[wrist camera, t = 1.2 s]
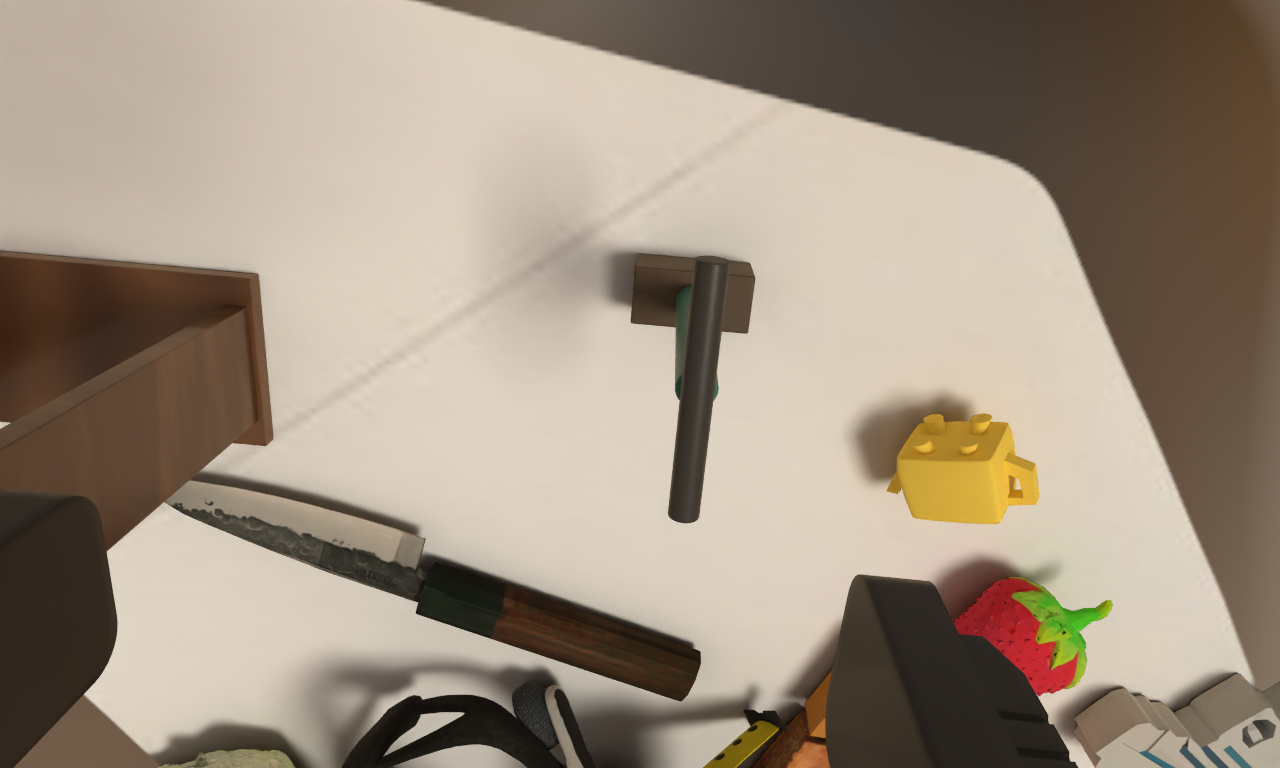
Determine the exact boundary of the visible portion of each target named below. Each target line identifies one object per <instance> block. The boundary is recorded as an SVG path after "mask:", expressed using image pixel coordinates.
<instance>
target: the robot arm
mask: <svg viewBox="0 0 1280 768" xmlns="http://www.w3.org/2000/svg"><path fill="white" fill-rule="evenodd" d="M116 636H117V614H116V608H115V602H114V595H113V589H112V583H111V577H110V571H109V565H108V558H107V552H106V546H105V540H104V534H103V528H102V521H101V517H100V513H99V511H98V509H97V507H96V505H95V504H94V503H93V502H92V501H91V500H90V499H88V498H86V497H84V496H77V495H67V494H57V493H47V492H37V491H26V490H16V489H6V490H2V491H0V768H14V766H15V765H16V764H17V763H18V762H19V761H20V760H21V759H22V758H23V757H24V756H25V755H26V754H27V753H28V752H29V751H30V750H31V749H32V747H34V745H35V744H36V743H37V742H38V741H39V740H40V739H41V738H42V737H43V736H44V735H45V734H46V733H47V732H48V731H49V730H50V729H51V728H52V727H53V726H54V725H55V724H56V723H57V721H58V720H59V719H60V718H61V717H62V716H63V715H64V714H65V713H66V712H67V711H68V710H69V709H70V708H71V707H72V706H73V705H74V704H75V703H76V702H77V701H78V700H79V699H80V697H81V696H82V695H83V694H84V693H85V692H86V691H87V690H88V689H89V688H90V687H91V686H92V685H93V684H94V683H95V682H96V680H97V679H98V678H99V677H100V675H101V674H102V672H103V671H104V669H105V667H106V665H107V664H108V661H109V659H110V657H111V655H112V652H113V649H114V645H115V641H116ZM825 733H826V747H827V755H828V760H829V765H830V768H1078V766H1077V765H1076V763H1075V762H1070V759H1069V751H1068V749H1067V747H1066V745H1065V744H1064V742H1063V740H1062V739H1061V737H1060V735H1059V733H1058V732H1057V730H1056V728H1055V726H1054V725H1053V724H1049V722H1048V714H1047V712H1046V711H1045V709H1044V707H1043V705H1042V704H1041V702H1040V700H1039V698H1038V697H1037V695H1036V693H1035V691H1034V690H1033V688H1032V686H1031V684H1030V683H1029V681H1028V679H1027V677H1026V676H1025V674H1024V673H1023V672H1022V671H1021V670H1020V669H1019V668H1018V667H1017V666H1015V665H1014V664H1013V663H1012V662H1011V661H1010V660H1009V659H1008V658H1007V657H1006V656H1004V655H1003V654H1002V653H1001V652H1000V651H999V650H998V649H997V648H996V647H995V646H993V645H992V644H991V643H990V642H989V641H988V640H987V639H986V638H985V637H983V636H974V635H964V634H959V633H958V631H957V629H956V627H955V625H954V623H953V621H952V619H951V617H950V615H949V613H948V611H947V609H946V607H945V605H944V603H943V601H942V599H941V597H940V595H939V593H938V591H937V589H936V587H935V586H934V585H933V584H932V583H931V582H929V581H921V580H911V579H901V578H891V577H881V576H870V575H857V576H855V578H854V579H853V581H852V583H851V586H850V589H849V593H848V597H847V602H846V607H845V611H844V616H843V621H842V626H841V631H840V636H839V641H838V645H837V650H836V655H835V660H834V665H833V670H832V675H831V679H830V684H829V689H828V695H827V702H826V717H825Z"/></svg>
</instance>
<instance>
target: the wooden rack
mask: <svg viewBox="0 0 1280 768" xmlns="http://www.w3.org/2000/svg"><path fill="white" fill-rule="evenodd" d="M0 422H10V424H9V425H7V426H5V427H3V428H1V429H0V491H2V490H6V489H16V490H26V491H37V492H47V493H57V494H67V495H77V496H84V497H86V498H88V499H90V500H91V501H92V502H93V503H94V504H95V505H96V507H97V509H98V511H99V513H100V517H101V521H102V528H103V534H104V540H105V546H106V552H107V551H108V550H109V549H110V548H111V547H112V546H114V545H115V544H116V543H117V542H118V541H119V540H121V539H122V538H123V537H124V536H125V535H126V534H128V533H129V532H130V531H131V530H132V529H133V528H134V527H136V526H137V525H138V524H139V523H140V522H141V521H143V520H144V519H145V518H146V517H147V516H148V515H150V514H151V513H152V512H153V511H154V510H155V509H156V508H158V507H159V506H160V505H161V504H162V503H163V502H165V501H166V500H167V499H168V498H169V497H170V496H172V495H173V494H174V493H175V492H176V491H177V490H178V489H180V488H181V487H182V486H183V485H184V484H185V483H187V482H188V481H189V480H190V479H191V478H192V477H194V476H195V475H196V474H197V473H198V472H199V471H200V470H202V469H203V468H204V467H205V466H206V465H207V464H209V463H210V462H211V461H212V460H213V459H214V458H215V457H217V456H218V455H219V454H220V453H221V452H222V451H224V450H225V449H226V448H227V447H228V446H229V445H231V444H232V443H238V444H249V445H260V446H267V445H268V444H269V443H270V442H271V441H272V440H273V428H272V417H271V406H270V395H269V384H268V373H267V362H266V351H265V340H264V329H263V318H262V307H261V296H260V285H259V275H258V274H250V273H239V272H228V271H217V270H206V269H194V268H183V267H172V266H161V265H150V264H139V263H127V262H116V261H105V260H94V259H83V258H71V257H60V256H49V255H38V254H27V253H16V252H4V251H0Z"/></svg>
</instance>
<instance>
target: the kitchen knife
mask: <svg viewBox="0 0 1280 768" xmlns="http://www.w3.org/2000/svg"><path fill="white" fill-rule="evenodd" d="M165 503H167V504H168V505H170V506H171V507H173V508H175V509H176V510H178V511H180V512H181V513H183V514H185V515H187V516H190V517H192V518H194V519H196V520H199V521H201V522H203V523H206V524H208V525H210V526H213V527H215V528H218V529H220V530H222V531H225V532H227V533H230V534H232V535H234V536H237V537H239V538H242V539H244V540H247V541H249V542H252V543H254V544H256V545H259V546H261V547H264V548H266V549H269V550H271V551H274V552H277V553H279V554H282V555H284V556H287V557H290V558H292V559H295V560H298V561H300V562H303V563H305V564H308V565H311V566H313V567H316V568H318V569H321V570H324V571H326V572H329V573H332V574H334V575H337V576H340V577H343V578H346V579H349V580H352V581H355V582H358V583H361V584H364V585H367V586H370V587H373V588H376V589H379V590H382V591H385V592H388V593H391V594H394V595H397V596H400V597H403V598H406V599H409V600H412V601H415V602H418V605H417V610H416V614H418V615H421V616H424V617H427V618H430V619H433V620H436V621H439V622H442V623H445V624H448V625H451V626H454V627H457V628H460V629H463V630H466V631H469V632H472V633H475V634H478V635H481V636H484V637H487V638H490V639H493V640H496V641H499V642H502V643H505V644H508V645H511V646H514V647H517V648H520V649H524V650H527V651H530V652H533V653H536V654H539V655H542V656H545V657H548V658H551V659H554V660H557V661H560V662H563V663H566V664H569V665H572V666H575V667H578V668H581V669H584V670H587V671H590V672H593V673H596V674H599V675H602V676H605V677H608V678H611V679H614V680H617V681H620V682H623V683H626V684H629V685H632V686H635V687H638V688H641V689H644V690H647V691H650V692H653V693H656V694H659V695H662V696H665V697H668V698H671V699H674V700H677V701H682V700H683V699H684V698H685V697H686V696H687V695H688V694H689V692H690V690H691V688H692V686H693V684H694V682H695V679H696V676H697V673H698V670H699V667H700V664H701V653H700V651H698V650H696V649H693V648H690V647H687V646H684V645H681V644H678V643H675V642H672V641H669V640H666V639H663V638H660V637H657V636H654V635H651V634H648V633H645V632H642V631H639V630H636V629H634V628H631V627H628V626H625V625H622V624H619V623H616V622H613V621H610V620H607V619H604V618H601V617H598V616H595V615H592V614H589V613H586V612H583V611H580V610H577V609H574V608H572V607H569V606H566V605H563V604H560V603H557V602H554V601H551V600H548V599H545V598H542V597H539V596H536V595H533V594H530V593H527V592H524V591H521V590H518V589H515V588H512V587H510V586H507V585H504V584H501V583H498V582H495V581H492V580H489V579H486V578H483V577H480V576H477V575H474V574H471V573H468V572H465V571H462V570H459V569H456V568H453V567H450V566H447V565H445V564H442V563H439V562H434V563H433V565H432V568H431V570H430V572H429V573H427V572H425V571H423V570H422V569H421V568H420V567H419V562H420V558H421V554H422V550H423V546H424V543H425V539H424V538H422V537H419V536H416V535H413V534H410V533H407V532H404V531H401V530H398V529H395V528H392V527H389V526H386V525H382V524H379V523H376V522H372V521H369V520H366V519H362V518H359V517H356V516H352V515H349V514H346V513H342V512H339V511H336V510H332V509H328V508H324V507H321V506H317V505H313V504H309V503H305V502H301V501H297V500H292V499H288V498H284V497H279V496H274V495H269V494H265V493H260V492H255V491H250V490H245V489H240V488H235V487H229V486H223V485H217V484H211V483H204V482H198V481H191V480H189V481H188V482H187V483H185V484H184V485H183V486H182V487H181V488H180V489H178V490H177V491H176V492H175V493H174V494H173V495H172V496H170V497H169V498H168V499H167V500H166V501H165Z"/></svg>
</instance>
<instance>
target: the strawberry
mask: <svg viewBox="0 0 1280 768" xmlns="http://www.w3.org/2000/svg"><path fill="white" fill-rule="evenodd" d="M1112 606H1113V604H1112V601H1111V600H1106V601H1104V602H1103V603H1101V604H1100V605H1099V606H1097V607H1096V608H1083V609H1080V610H1076V611H1071V610H1068V609H1065V608H1062V606H1061V605H1060V604H1059V603H1058V601H1057V600H1056V599H1055V597H1054V596H1053V595H1052V594H1051V593H1050V592H1048V591H1047V590H1046V589H1045V588H1044V587H1042V586H1040V585H1038V584H1035V583H1033V582H1031V581H1029V580H1027V579H1025V578H1021V577H1007V578H1006V579H1004V580H1001V581H994V584H993V585H992V586H991V587H990V588H989V589H987V590H985V591H984V592H983V594H982V596H981V597H980V598H977V602H976V603H975V604H972V606H971V607H968V611H967V612H963V614H964V615H960V618H959V619H957V618H955V620H954V625H955V627H956V629H957V631H958V633H959V634H964V635H974V636H983V637H985V638H986V639H987V640H988V641H989V642H990V643H991V644H992V645H993V646H995V647H996V648H997V649H998V650H999V651H1000V652H1001V653H1002V654H1003V655H1004V656H1006V657H1007V658H1008V659H1009V660H1010V661H1011V662H1012V663H1013V664H1014V665H1015V666H1017V667H1018V668H1019V669H1020V670H1021V671H1022V672H1023V673H1024V674H1025V676H1026V677H1027V679H1028V681H1029V683H1030V684H1031V686H1032V688H1033V690H1034V691H1035V693H1036V694H1037V695H1038V696H1040V695H1041V694H1043V693H1048V692H1049V693H1052V694H1053V693H1054V692H1056V691H1059V690H1062V689H1069V688H1072V687H1074V686H1075V685H1076V684H1077V683H1078V682H1079V681H1080V679H1081V678H1082V676H1083V674H1084V671H1085V667H1086V662H1087V658H1086V652H1085V649H1086V642H1085V640H1084V639H1083V637H1082V635H1081V634H1080V633H1079V631H1080V630H1082V629H1083V628H1085V627H1086V626H1087V625H1088V624H1089V623H1090V622H1093V621H1097V620H1101V619H1103V618H1104V617H1106V616H1107V615H1108V613H1109V612H1110V611H1111V609H1112Z"/></svg>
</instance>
